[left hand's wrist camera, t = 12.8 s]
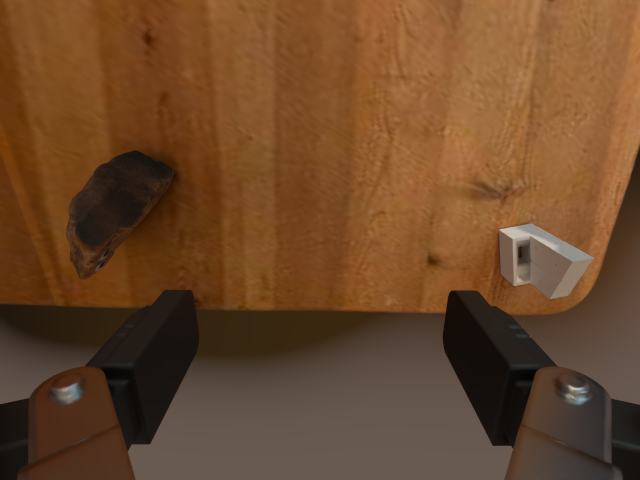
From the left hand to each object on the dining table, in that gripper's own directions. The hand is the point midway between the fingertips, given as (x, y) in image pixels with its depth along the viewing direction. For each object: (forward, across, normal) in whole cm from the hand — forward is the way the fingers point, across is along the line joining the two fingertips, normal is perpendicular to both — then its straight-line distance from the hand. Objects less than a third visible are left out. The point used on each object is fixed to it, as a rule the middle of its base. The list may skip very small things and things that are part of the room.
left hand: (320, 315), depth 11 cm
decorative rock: (+30, +20, +4) cm, 36 cm away
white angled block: (+30, -23, +10) cm, 39 cm away
